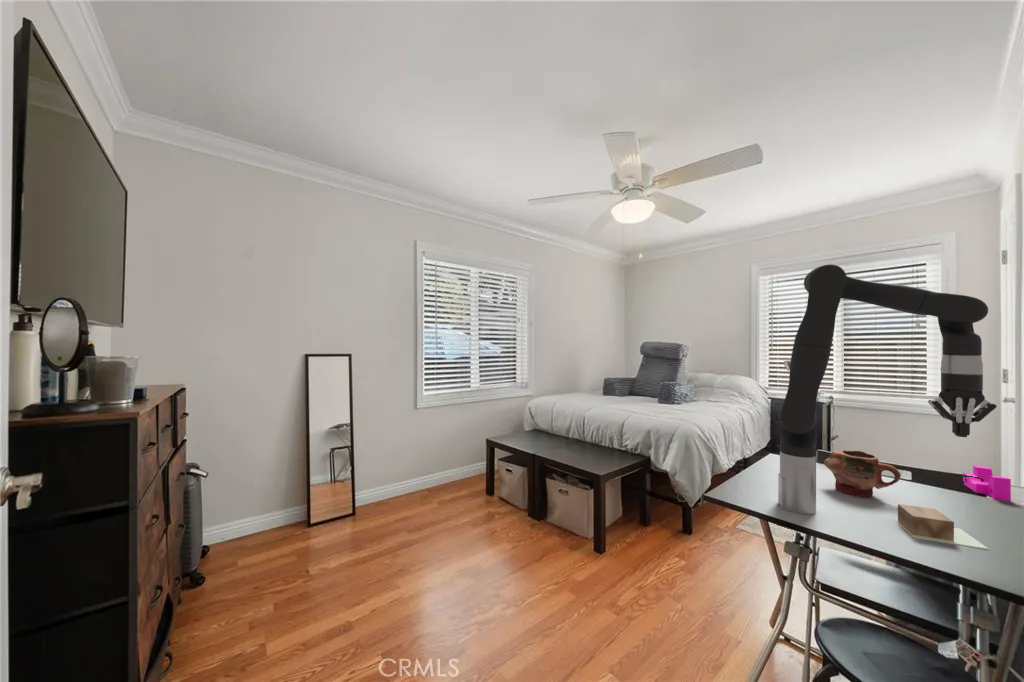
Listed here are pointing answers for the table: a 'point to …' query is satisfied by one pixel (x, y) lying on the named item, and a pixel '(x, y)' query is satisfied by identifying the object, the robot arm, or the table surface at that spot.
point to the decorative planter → (858, 472)
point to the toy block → (988, 483)
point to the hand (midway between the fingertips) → (961, 436)
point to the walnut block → (926, 522)
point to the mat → (959, 538)
